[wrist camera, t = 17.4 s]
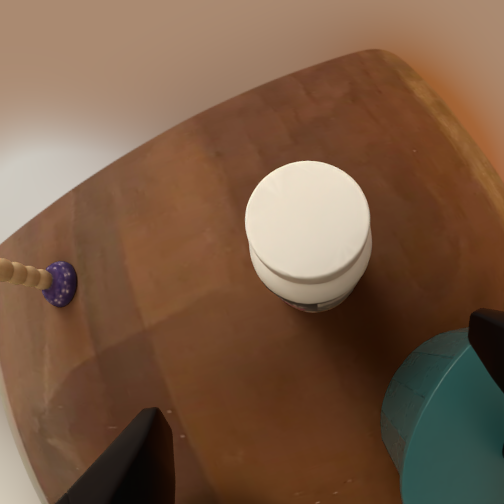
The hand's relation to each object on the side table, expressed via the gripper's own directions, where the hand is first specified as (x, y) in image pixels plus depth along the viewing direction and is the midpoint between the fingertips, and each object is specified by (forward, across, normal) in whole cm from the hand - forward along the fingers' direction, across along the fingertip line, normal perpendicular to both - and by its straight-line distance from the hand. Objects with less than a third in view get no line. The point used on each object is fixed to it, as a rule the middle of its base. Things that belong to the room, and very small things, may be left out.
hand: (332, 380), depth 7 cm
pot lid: (-2, -8, +7) cm, 11 cm away
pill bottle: (+13, -3, +3) cm, 14 cm away
